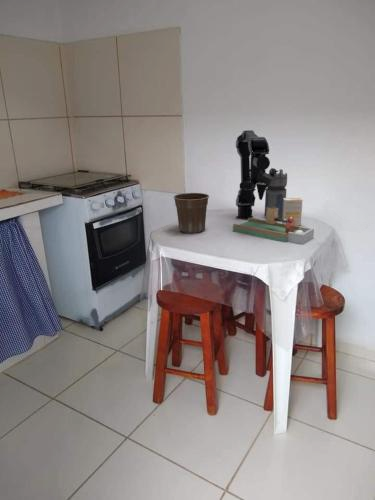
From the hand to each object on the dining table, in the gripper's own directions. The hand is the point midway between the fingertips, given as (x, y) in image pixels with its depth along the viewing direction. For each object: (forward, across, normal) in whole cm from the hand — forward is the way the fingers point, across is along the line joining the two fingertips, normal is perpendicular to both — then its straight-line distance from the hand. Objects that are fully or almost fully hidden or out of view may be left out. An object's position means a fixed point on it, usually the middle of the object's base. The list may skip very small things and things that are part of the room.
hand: (255, 201), depth 179 cm
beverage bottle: (+13, +24, +3) cm, 28 cm away
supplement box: (+13, +15, -11) cm, 23 cm away
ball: (+11, -2, -23) cm, 26 cm away
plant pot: (+13, -18, +23) cm, 32 cm away
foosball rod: (+10, -2, -14) cm, 17 cm away
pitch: (+13, -2, -10) cm, 17 cm away
